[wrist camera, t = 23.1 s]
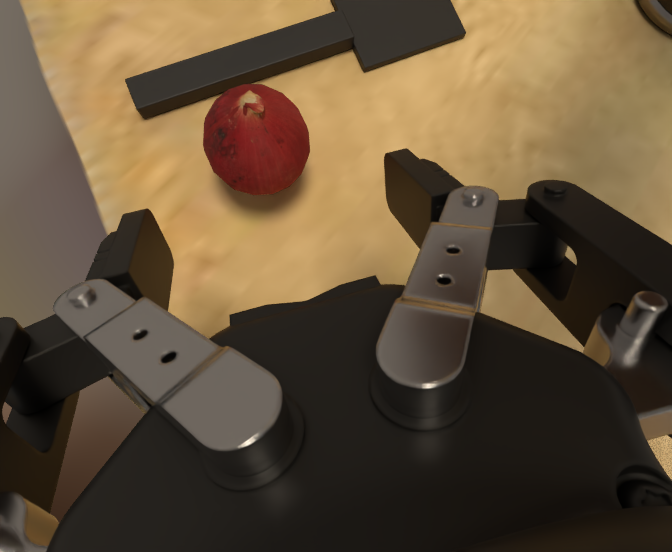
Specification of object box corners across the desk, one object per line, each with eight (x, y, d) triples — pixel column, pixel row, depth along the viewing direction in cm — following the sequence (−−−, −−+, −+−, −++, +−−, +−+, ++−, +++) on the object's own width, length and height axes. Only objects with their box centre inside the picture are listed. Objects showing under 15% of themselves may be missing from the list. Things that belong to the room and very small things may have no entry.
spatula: (429, -33, 28) (435, -49, 27) (463, 37, 28) (470, 25, 27) (122, 65, 26) (113, 52, 24) (154, 145, 25) (147, 136, 24)
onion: (240, 225, 25) (211, 178, 17) (205, 146, 25) (160, 65, 17) (322, 190, 26) (330, 130, 18) (286, 115, 26) (278, 23, 18)
